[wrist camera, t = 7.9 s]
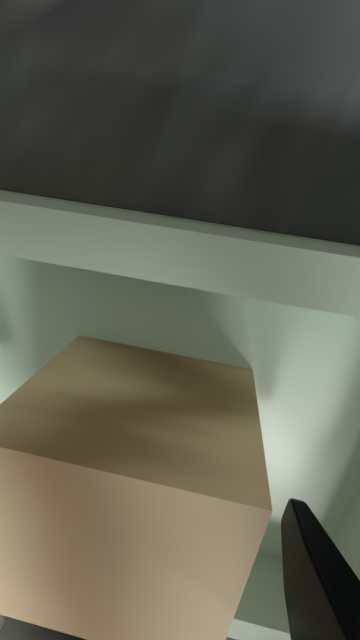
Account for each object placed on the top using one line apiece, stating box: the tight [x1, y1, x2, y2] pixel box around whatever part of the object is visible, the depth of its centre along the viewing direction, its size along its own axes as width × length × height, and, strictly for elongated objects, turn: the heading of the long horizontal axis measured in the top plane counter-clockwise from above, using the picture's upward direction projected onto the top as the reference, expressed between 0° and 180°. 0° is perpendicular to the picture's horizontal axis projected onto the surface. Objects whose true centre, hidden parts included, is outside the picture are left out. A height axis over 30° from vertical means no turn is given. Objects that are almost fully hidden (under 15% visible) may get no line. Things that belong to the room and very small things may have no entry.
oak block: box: [0, 335, 272, 640], centre depth 9 cm, size 6×6×5 cm
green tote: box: [0, 190, 360, 640], centre depth 11 cm, size 18×14×4 cm
